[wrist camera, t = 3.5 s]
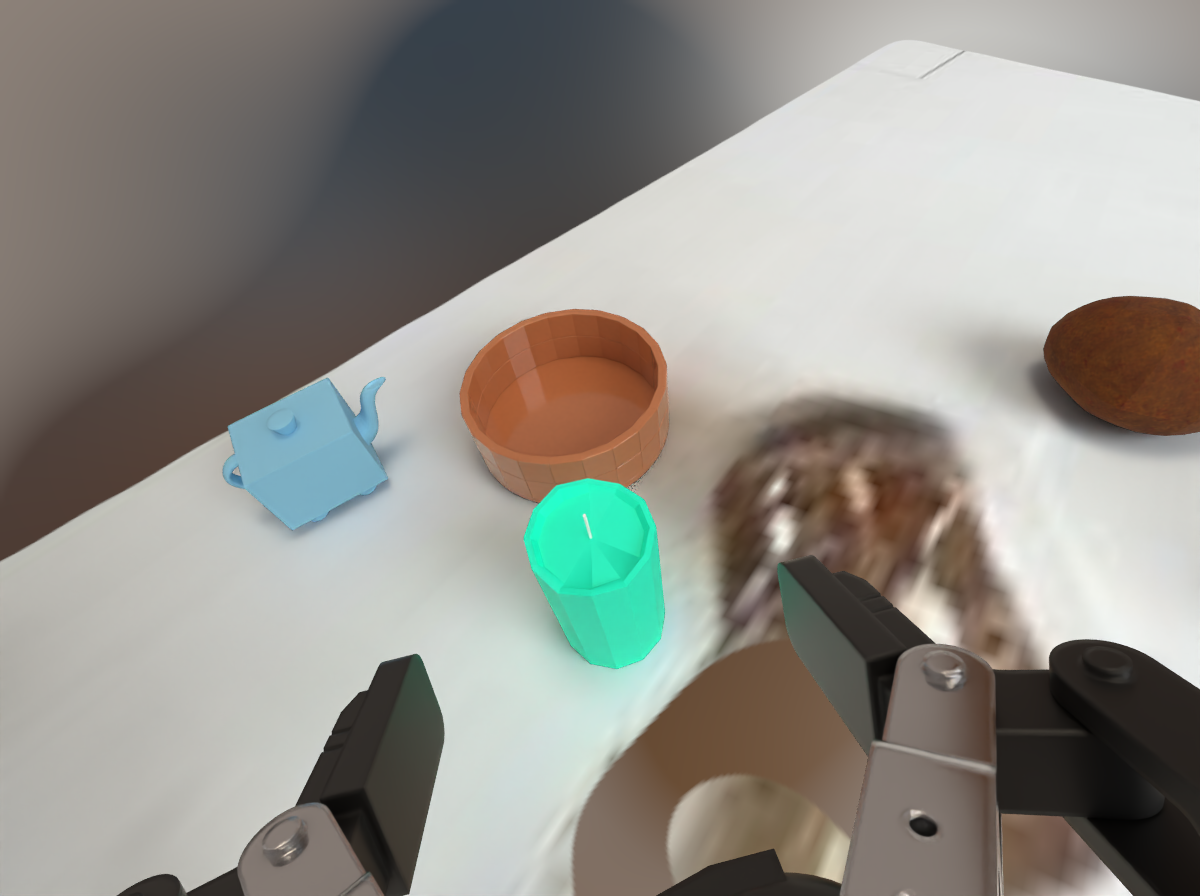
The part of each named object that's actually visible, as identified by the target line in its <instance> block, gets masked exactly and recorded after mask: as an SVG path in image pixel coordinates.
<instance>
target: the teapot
mask: <svg viewBox="0 0 1200 896" xmlns="http://www.w3.org/2000/svg"><path fill="white" fill-rule="evenodd" d="M385 380H386V379H385V377H380V378H377V379H375V380H373V381H371V382H370V383H368V384H367V385H366V386H365V387H364V388H363V390H362V392H361V395H360V403H361V411H360V413H359V414H358V415H357V416H355V414H354V413H353V411H352V410H351V409H350V407H349V406H348V404H347V403H346V402H345V400H344V399H343V397H342V396H341V395H340V393H339V392H338V391H337V389H336V388H335V386H334V385H333V384H332V382H331V381H330V379H329V378H326V379H323V380H321V381H319V382H317V383H315V384H313V385H311V386H309V387H307V388H304V389H302V390H300V391H298V392H296V393H294V394H292V395H290V396H288V397H286V398H284V399H282V400H280V401H278V402H275V403H273V404H272V405H269V406H267V407H265V408H263V409H261V410H259V411H257V412H255V413H253V414H251V415H249V416H247V417H245V418H243V419H241V420H239V421H237V422H235V423H233V424H231V425H229V426H228V430H229V434H230V437H231V441H232V445H233V448H234V452H235V454H233V455H232V456H230V457H229V458H228V459H227V460H226V462H225V463H224V466H223V477H224V479H225V480H226V482H227V483H229V484H230V485H232V486H234V487H238V488H242V489H246V490H247V491H248V492H249V493H250V494H251V495H252V496H254V497H255V498H256V499H257V500H258V501H259V502H260V503H262V504H263V505H264V506H265V507H266V508H267V509H268V510H270V511H271V512H272V513H273V514H274V515H275V516H276V517H277V518H279V519H280V520H281V521H282V522H283V523H284V524H285V525H287V526H288V527H289V528H290V529H291V530H294V529H296V528H298V527H300V526H302V525H304V524H306V523H307V522H309V521H313V522H317V521H320V520H322V519H324V518H325V517H326V516H327V514H328V512H329V511H330V510H331V509H333V508H335V507H337V506H339V505H341V504H343V503H344V502H346V501H348V500H350V499H352V498H354V497H355V496H357V495H359V494H360V495H368V494H370V493H372V492H373V491H374V490H375V488H376V486H377V485H378V484H379V483H381V482H383V481H385V480H387V479H388V477H387V475H386V473H385V471H384V468H383V466H382V464H381V462H380V460H379V458H378V456H377V454H376V452H375V450H374V448H373V446H372V444H371V442H372V441H373V440H374V438H375V436H376V434H377V431H378V416H377V411H376V406H375V395H376V393H377V391H378V389H379V388H380V387H381V385H382V384H383V383H384V382H385ZM236 467H239V470H240V474H241V476H238V475H235V474H233V473H232V472H233V470H234V469H235V468H236Z"/></svg>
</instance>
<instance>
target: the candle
mask: <svg viewBox="0 0 1200 896" xmlns="http://www.w3.org/2000/svg"><path fill="white" fill-rule="evenodd" d="M524 542H525V546H526V550H527V553H528V557H529V561H530V565H531V568H532V571H533V573H534V575H535V576H536V578H537V580H538V582H539V584H540V586H541V588H542V590H543V592H544V594H545V596H546V598H547V600H548V602H549V604H550V606H551V608H552V610H553V612H554V613H555V615H556V617H557V619H558V621H559V623H560V625H561V627H562V629H563V631H564V633H565V635H566V637H567V639H568V641H569V643H570V645H571V646H572V647H573V648H574V649H575V650H576V651H577V652H578V653H579V654H580V655H582V656H583V657H584V658H585V659H586V660H587V661H588V662H589V663H590V664H594V665H599V666H604V667H610V668H615V669H619V668H621V667H624V666H627V665H630V664H632V663H635V662H638V661H641V660H643V659H644V658H645V657H646V656H647V654H648V653H649V652H650V651H651V650H652V648H653V647H654V646H655V645H656V644H657V642H658V641H659V640H660V639H661V634H662V628H663V622H664V615H665V608H664V598H663V588H662V579H661V569H660V559H659V549H658V539H657V529H656V525H655V523H654V520H653V518H652V516H651V514H650V511H649V509H648V507H647V504H646V502H645V500H644V499H643V498H641V497H640V496H638V495H636V494H635V493H633V492H632V491H630V490H629V489H627V488H626V487H624V486H622V485H621V484H618V483H612V482H607V481H601V480H595V479H589V478H587V479H582V480H578V481H573V482H569V483H565V484H560V485H556V486H555V487H554V488H553V489H552V490H551V491H550V492H549V493H548V495H547V496H546V497H545V498H544V499H543V500H542V501H541V502H540V503H539V504H538V505H537V506H536V507H535V508H534V509H533V512H532V515H531V518H530V521H529V524H528V527H527V530H526V532H525V535H524Z"/></svg>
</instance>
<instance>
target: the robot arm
mask: <svg viewBox="0 0 1200 896" xmlns="http://www.w3.org/2000/svg"><path fill="white" fill-rule="evenodd" d="M778 578H779V584H780V591H781V597H782V603H783V609H784V616H785V622H786V627H787V631H788V634H789V637H790V640H791V643H792V645H793V647H794V649H795V651H796V653H797V655H798V656H799V657H800V659H801V660H802V662H803V663H804V665H805V666H806V668H807V669H808V671H809V672H810V673H811V675H812V676H813V678H814V679H815V681H816V682H817V683H818V685H819V686H820V688H821V689H822V691H823V692H824V694H825V695H826V697H827V698H828V699H829V701H830V703H831V704H832V705H833V706H834V708H835V710H836V711H837V713H838V714H839V715H840V717H841V718H842V720H843V721H844V723H845V724H846V725H847V727H848V729H849V730H850V732H851V733H852V734H853V736H854V737H855V739H856V740H857V742H858V743H859V745H860V746H861V747H862V749H863V750H864V752H865V753H866V755H867V756H868V761H867V766H866V770H865V775H864V780H863V785H862V789H861V794H860V799H859V804H858V809H857V813H856V818H855V823H854V828H853V833H852V837H851V842H850V847H849V852H848V857H847V862H846V866H845V871H844V876H843V881H842V884H840V883H838V882H835V881H832V880H829V879H825V878H822V877H818V876H814V875H808V874H800V873H784V872H783V869H782V867H781V864H780V862H779V859H778V857H777V855H776V852H775V850H774V849H770V850H767V851H763V852H759V853H755V854H752V855H748V856H744V857H740V858H736V859H733V860H729V861H725V862H721V863H717V864H714V865H710V866H708V867H706V868H704V869H702V870H701V871H699V872H697V873H695V874H694V875H692V876H690V877H688V878H687V879H685V880H683V881H681V882H680V883H678V884H676V885H674V886H673V887H671V888H669V889H667V890H666V891H664V892H662V893H660V894H658V895H657V896H1003V857H1002V814H1001V813H1004V814H1024V815H1045V816H1062V817H1063V818H1064V819H1065V820H1066V821H1067V822H1068V824H1069V825H1070V826H1071V827H1072V828H1073V829H1074V830H1075V831H1076V832H1077V834H1078V835H1079V836H1080V837H1081V838H1082V839H1083V840H1084V841H1085V842H1086V844H1087V845H1088V846H1089V847H1090V848H1091V849H1092V850H1093V851H1094V853H1095V854H1096V855H1097V856H1098V857H1099V858H1100V859H1101V860H1102V861H1103V863H1104V864H1105V865H1106V866H1107V867H1108V868H1109V869H1110V870H1111V871H1112V873H1113V874H1114V875H1115V876H1116V877H1117V878H1118V879H1119V880H1120V881H1121V883H1122V884H1123V885H1124V886H1125V887H1126V888H1127V889H1128V890H1129V892H1130V893H1131V894H1132V895H1133V896H1200V689H1198V688H1197V687H1195V686H1194V685H1192V684H1191V683H1189V682H1188V681H1186V680H1185V679H1183V678H1182V677H1180V676H1179V675H1177V674H1176V673H1174V672H1173V671H1171V670H1170V669H1168V668H1167V667H1165V666H1164V665H1162V664H1161V663H1159V662H1158V661H1156V660H1154V659H1153V658H1151V657H1150V656H1148V655H1146V654H1144V653H1142V652H1140V651H1138V650H1136V649H1133V648H1130V647H1128V646H1124V645H1121V644H1117V643H1113V642H1108V641H1101V640H1089V639H1085V640H1073V641H1068V642H1065V643H1062V644H1060V645H1058V646H1056V647H1055V648H1054V649H1053V650H1052V651H1051V653H1050V656H1049V670H995V669H992V668H991V667H990V665H989V664H988V663H987V662H986V661H985V660H984V659H982V658H981V657H979V656H978V655H976V654H974V653H972V652H970V651H968V650H965V649H963V648H959V647H956V646H951V645H945V644H936V643H934V642H933V641H932V640H931V639H930V638H929V637H928V636H927V635H926V634H924V633H923V632H922V631H921V630H920V629H919V628H918V627H917V626H916V625H915V624H913V623H912V622H911V621H910V620H909V619H908V618H907V617H906V616H905V615H904V614H902V613H901V612H900V611H899V610H898V609H897V608H896V607H895V608H894V607H893V605H892V604H891V603H890V602H889V601H888V600H887V599H886V598H885V597H884V596H881V595H880V593H879V592H878V591H877V590H876V589H875V588H874V587H873V586H872V585H870V584H869V583H868V582H867V581H866V580H864V579H862V578H859V577H857V576H855V575H852V574H850V573H847V572H845V571H841V572H837V573H833V574H832V573H831V572H830V571H829V570H828V569H827V568H826V567H825V566H824V565H823V564H822V563H821V562H820V561H819V560H818V559H817V558H816V557H815V556H813V555H809V556H805V557H801V558H797V559H793V560H789V561H785V562H781V563H779V564H778ZM443 744H444V723H443V717H442V713H441V710H440V707H439V704H438V702H437V699H436V696H435V693H434V691H433V688H432V685H431V682H430V680H429V677H428V674H427V671H426V669H425V666H424V663H423V661H422V659H421V657H420V656H419V655H418V654H413V655H409V656H405V657H401V658H397V659H393V660H389V661H385V662H382V663H381V664H380V665H379V667H378V669H377V671H376V673H375V676H374V678H373V680H372V682H371V685H370V687H369V689H368V690H367V691H363V692H359V693H358V694H357V696H356V697H355V698H354V699H353V700H352V701H351V702H350V703H349V704H348V705H347V706H346V707H345V709H344V710H343V711H342V712H341V714H340V716H339V718H338V720H337V722H336V724H335V726H334V728H333V730H332V735H331V736H329V738H328V740H327V742H326V744H325V746H324V752H322V753H321V755H320V757H319V759H318V761H317V763H316V765H315V767H314V769H313V771H312V773H311V775H310V777H309V779H308V781H307V783H306V785H305V787H304V789H303V791H302V793H301V795H300V797H299V799H298V802H297V804H296V806H295V807H293V808H291V809H289V810H287V811H285V812H283V813H282V814H280V815H278V816H277V817H275V818H274V819H273V820H271V821H270V822H269V823H267V824H266V825H265V826H264V827H263V828H262V829H261V830H260V831H259V832H258V833H257V834H256V835H255V836H254V837H253V838H252V839H251V841H250V842H249V843H248V845H247V846H246V848H245V849H244V851H243V853H242V855H241V857H240V860H239V863H238V867H236V868H234V869H233V870H231V871H229V872H227V873H225V874H223V875H221V876H219V877H217V878H215V879H213V880H211V881H209V882H207V883H205V884H203V885H201V886H199V887H198V888H196V889H194V890H192V891H190V892H188V893H186V892H185V890H184V888H183V886H182V885H181V883H180V881H179V880H178V878H177V877H175V876H174V875H170V874H161V875H156V876H153V877H150V878H147V879H145V880H142V881H140V882H138V883H136V884H134V885H133V886H131V887H129V888H128V889H126V890H125V891H123V892H122V893H120V894H119V895H117V896H403V895H407V894H409V892H410V888H411V884H412V879H413V875H414V871H415V866H416V862H417V857H418V853H419V849H420V844H421V840H422V836H423V831H424V827H425V823H426V818H427V814H428V809H429V805H430V801H431V796H432V792H433V788H434V783H435V779H436V775H437V770H438V766H439V761H440V757H441V753H442V748H443Z"/></svg>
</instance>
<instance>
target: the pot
mask: <svg viewBox="0 0 1200 896" xmlns="http://www.w3.org/2000/svg"><path fill="white" fill-rule="evenodd" d="M460 404H461V414H462V417H463V419H464V421H465V423H466V425H467V427H468V429H469V431H470V433H471V435H472V437H473V439H474V441H475V443H476V446H477V448H478V450H479V452H480V454H481V456H482V457H483V459H484V461H485V463H486V465H487V467H488V469H489V471H490V472H491V473H492V475H493V476H494V477H495V479H496V480H497V481H498V482H499V483H501V484H502V485H503V486H504V487H505V488H507V489H508V490H510V491H511V492H513V493H514V494H516V495H518V496H520V497H522V498H525V499H528V500H531V501H534V502H537V503H540V502H541V501H542V500H543V499H544V498H545V497H546V496H547V495H548V493H549V492H550V491H551V490H552V489H553V488H554V487H555V486H556V485H560V484H565V483H569V482H573V481H578V480H582V479H587V478H589V479H595V480H601V481H607V482H612V483H618V484H621V485H622V486H624V487H626V488H627V487H628V486H630V485H631V484H632V483H634V482H635V481H637V480H638V479H639V478H640V477H641V476H642V475H643V474H644V473H646V472H647V470H648V469H649V468H650V467H651V466H652V465H653V463H654V462H655V461H656V459H657V457H658V456H659V454H660V453H661V451H662V448H663V446H664V444H665V441H666V437H667V434H668V427H669V402H668V382H667V364H666V362H665V359H664V357H663V354H662V352H661V349H660V347H659V345H658V343H657V342H656V341H655V340H654V339H653V338H652V337H651V336H650V335H649V334H648V333H647V332H646V330H645V329H644V328H642V327H640V326H638V325H637V324H635V323H633V322H631V321H629V320H628V319H626V318H624V317H622V316H618V315H614V314H611V313H607V312H603V311H598V310H583V309H573V310H572V309H570V310H563V311H556V312H549V313H544V314H541V315H538V316H535V317H533V318H530V319H527V320H524V321H521V322H519V323H517V324H516V325H514V326H512V327H510V328H509V329H507V330H505V331H503V332H502V333H500V334H498V335H497V336H496V337H495V338H494V339H492V340H491V341H490V342H489V343H488V344H487V345H486V346H485V347H484V348H482V349H481V350H480V351H479V352H478V354H477V355H476V357H475V358H474V360H473V361H472V363H471V364H470V366H469V367H468V369H467V370H466V373H465V376H464V380H463V383H462V387H461V390H460Z"/></svg>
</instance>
